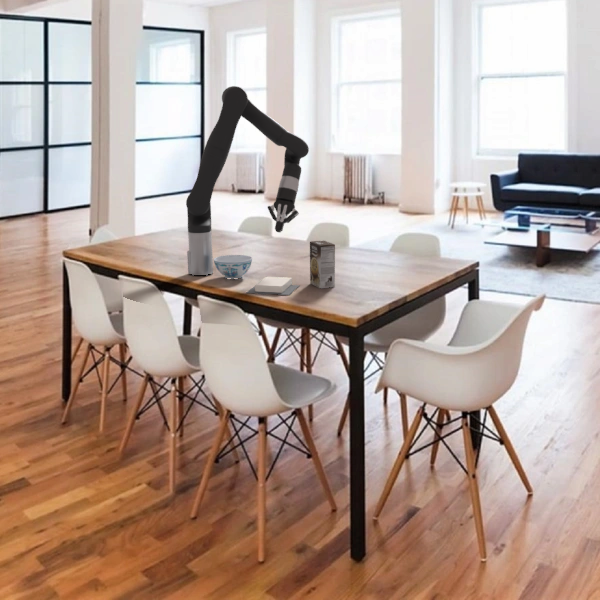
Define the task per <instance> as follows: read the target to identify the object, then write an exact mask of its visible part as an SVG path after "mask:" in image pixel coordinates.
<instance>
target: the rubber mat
mask: <svg viewBox="0 0 600 600" xmlns="http://www.w3.org/2000/svg"><path fill="white" fill-rule="evenodd" d="M299 287H300V285H299V284H292V285H291V286H289V287H288V288H287V289H286V290H285V291H284V292H282V293H271V292H256V291H255V285H254V286H253V287H252V288H250V289H249V290H247V291H246V292H245V294H246V293H258V294H257V295H266V294H278V295H277V296H286V295H289V296H290V295H292V294H293V293H294V292H295V291H296V290H297V289H298V288H299ZM296 288H297V289H296ZM295 289H296V290H295ZM294 290H295V291H294ZM293 291H294V292H293ZM292 292H293V293H292Z"/></svg>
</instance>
